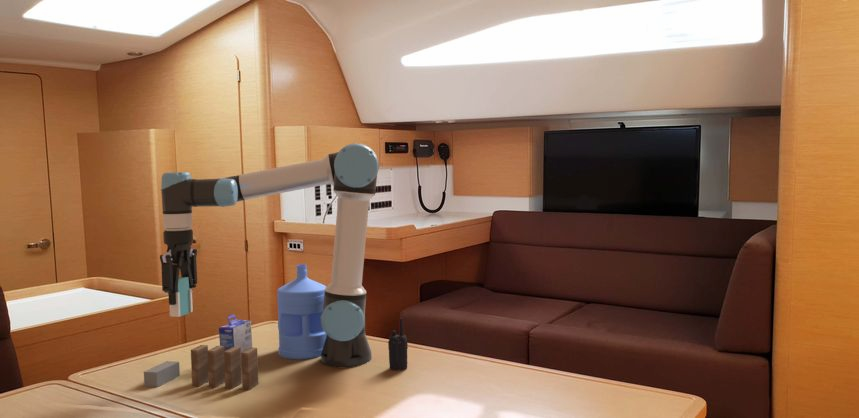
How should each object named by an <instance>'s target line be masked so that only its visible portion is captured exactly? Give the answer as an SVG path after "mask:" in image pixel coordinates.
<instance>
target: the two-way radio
mask: <svg viewBox="0 0 859 418" xmlns="http://www.w3.org/2000/svg"><path fill="white" fill-rule="evenodd" d="M403 321H404V320H403V318H402V317H400V318H399V334H397V332H396V329H395V330H394V329H393V330H392V331H391V335H390V336H389V339H388V363H389V364H388V365H389V369H390V370H391V371H405V370H407V369H408V339H407V336H406V334H404V323H403Z"/></svg>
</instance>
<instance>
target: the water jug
mask: <svg viewBox="0 0 859 418" xmlns="http://www.w3.org/2000/svg"><path fill="white" fill-rule="evenodd" d="M307 267H308V266H307V264H297V265H296V278H295V279H294V280H293V279H292V280H291V281H289V282H288V283H286V284H284V285H282V286H280V287H279V288H278V289H277V290H276V291H277V292H276V293H277V295H276V302H277V319H278V321H277V328H278V342H279V343H278V346H279V347H278V354H279V356H280V357H282V358H284V359H289V360H306V359H307V360H308V359H314V358H318V357H321V353H322V350H323V346H324V343H325V339H326V333H325V332H324V330H323V328H322V324H321V315H322V312H323V304H324V293H325V288H326V287H327V286H326V285H325V284H323V283H320V282H318V281H315V280H313V279H310V278H309V277H308V270H307Z"/></svg>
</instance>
